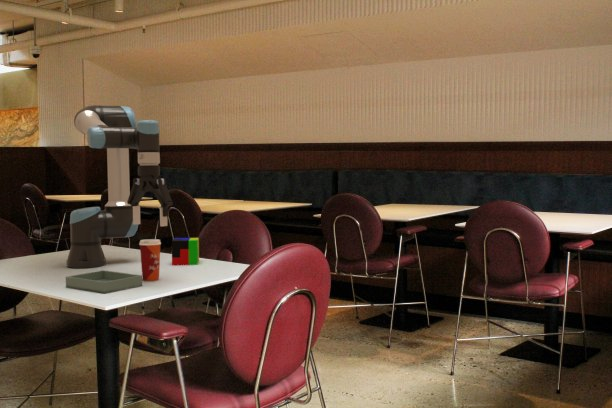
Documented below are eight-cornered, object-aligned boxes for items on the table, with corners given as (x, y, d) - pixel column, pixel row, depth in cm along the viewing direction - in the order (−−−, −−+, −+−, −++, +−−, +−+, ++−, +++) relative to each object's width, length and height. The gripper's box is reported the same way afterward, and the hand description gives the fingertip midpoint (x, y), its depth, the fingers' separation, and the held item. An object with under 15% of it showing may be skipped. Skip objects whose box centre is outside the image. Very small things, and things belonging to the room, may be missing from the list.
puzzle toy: (174, 262, 283) (174, 238, 282) (199, 261, 284) (198, 237, 283) (172, 265, 273) (171, 240, 272) (197, 265, 274) (196, 240, 273)
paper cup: (156, 281, 237) (155, 241, 236) (135, 281, 238) (135, 241, 237) (165, 277, 244) (164, 239, 243) (145, 277, 246) (144, 238, 245)
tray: (66, 287, 227) (65, 276, 227) (103, 280, 240) (103, 270, 240) (105, 293, 216) (104, 282, 216) (142, 285, 229) (142, 275, 229)
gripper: (116, 164, 242) (117, 224, 244) (166, 164, 228) (167, 227, 230) (132, 164, 249) (133, 222, 250) (182, 164, 235) (183, 225, 236)
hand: (150, 225), depth 240 cm, fingers open, 13 cm apart
